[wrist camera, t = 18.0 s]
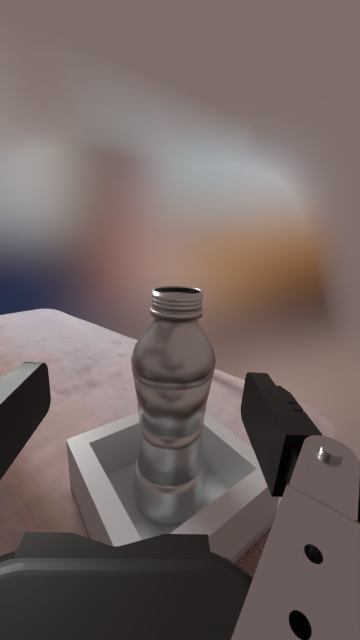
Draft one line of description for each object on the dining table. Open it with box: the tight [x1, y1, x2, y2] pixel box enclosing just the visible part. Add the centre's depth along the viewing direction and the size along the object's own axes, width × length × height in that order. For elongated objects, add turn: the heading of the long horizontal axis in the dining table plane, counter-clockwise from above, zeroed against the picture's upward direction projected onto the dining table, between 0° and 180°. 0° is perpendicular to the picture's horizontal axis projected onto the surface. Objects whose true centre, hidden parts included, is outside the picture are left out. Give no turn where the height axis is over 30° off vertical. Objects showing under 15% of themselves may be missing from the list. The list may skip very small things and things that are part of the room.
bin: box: [66, 412, 279, 563], centre depth 24 cm, size 14×14×6 cm
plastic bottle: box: [131, 286, 216, 524], centre depth 22 cm, size 6×7×20 cm
